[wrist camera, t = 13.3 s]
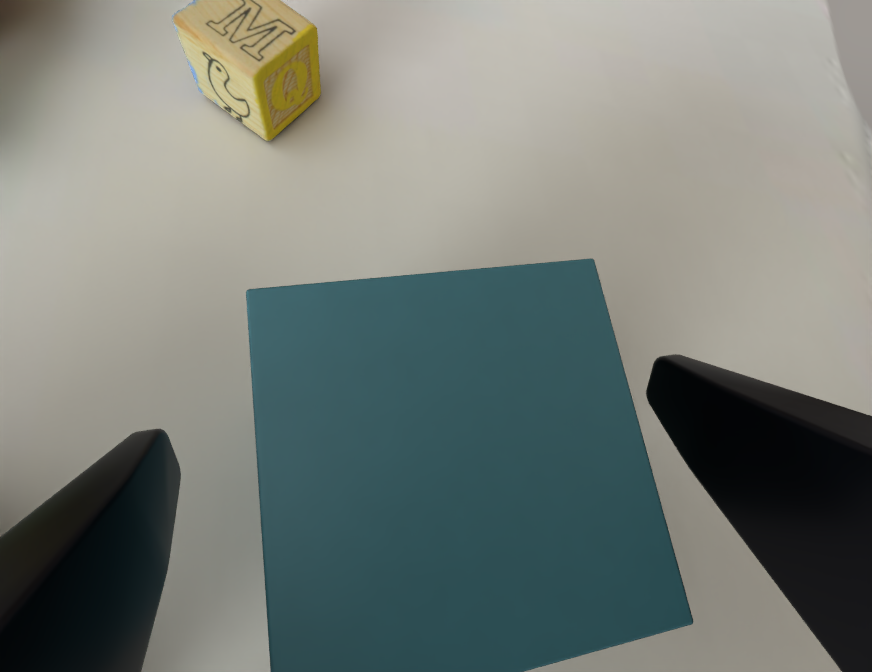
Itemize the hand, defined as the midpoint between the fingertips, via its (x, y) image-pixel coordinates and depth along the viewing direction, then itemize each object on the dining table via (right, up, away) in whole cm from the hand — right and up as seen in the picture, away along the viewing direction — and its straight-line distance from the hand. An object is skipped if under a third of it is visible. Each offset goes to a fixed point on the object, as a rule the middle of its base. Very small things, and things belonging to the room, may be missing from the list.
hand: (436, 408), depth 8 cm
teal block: (-1, -3, +6) cm, 6 cm away
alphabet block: (-6, +10, +9) cm, 15 cm away
